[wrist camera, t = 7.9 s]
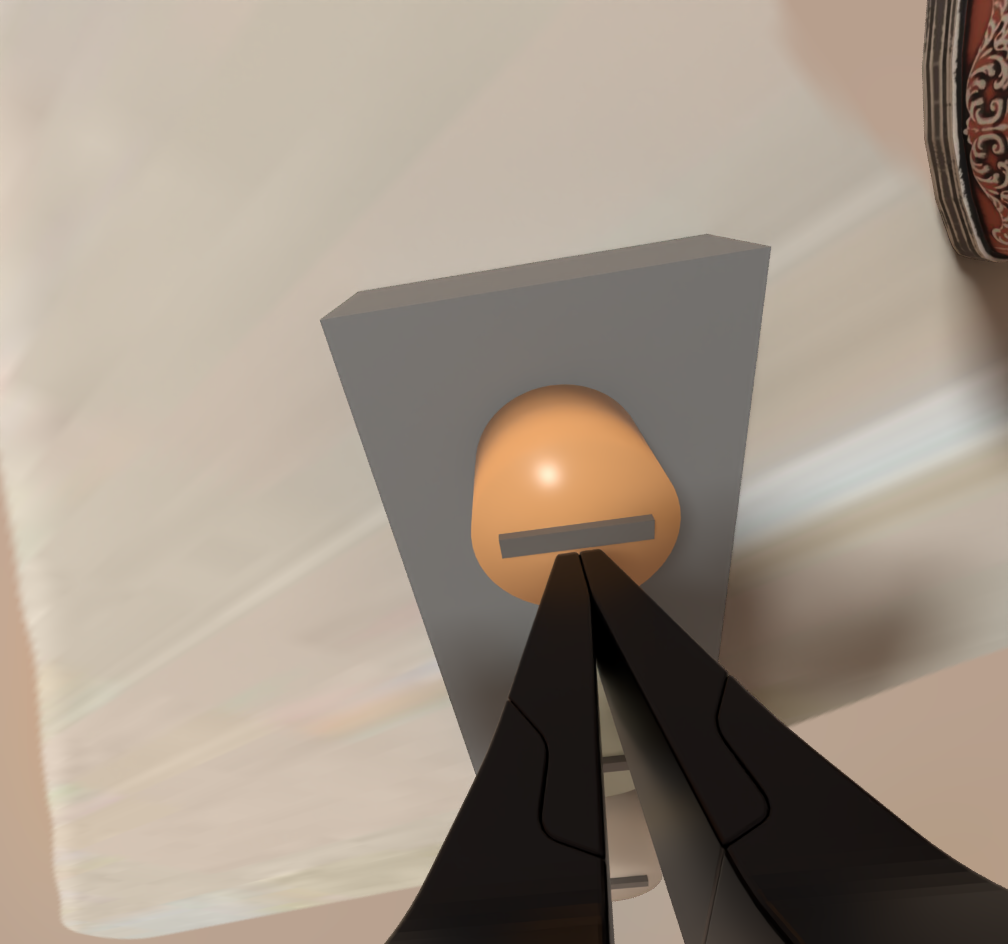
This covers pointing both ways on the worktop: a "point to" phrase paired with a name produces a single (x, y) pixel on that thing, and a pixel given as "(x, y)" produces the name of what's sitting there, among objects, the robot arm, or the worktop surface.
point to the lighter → (968, 121)
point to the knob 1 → (568, 490)
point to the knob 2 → (630, 848)
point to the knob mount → (538, 363)
